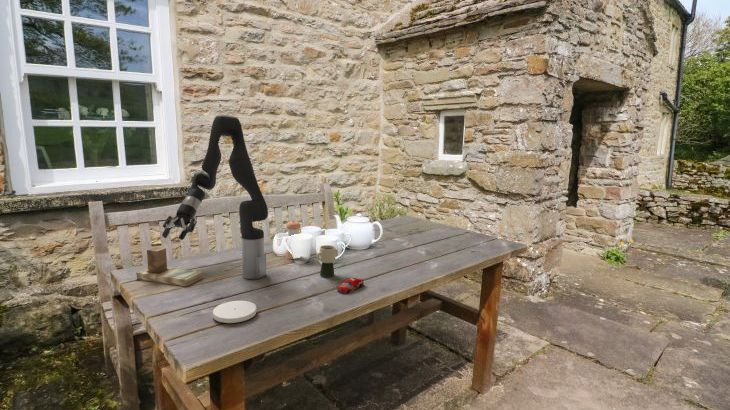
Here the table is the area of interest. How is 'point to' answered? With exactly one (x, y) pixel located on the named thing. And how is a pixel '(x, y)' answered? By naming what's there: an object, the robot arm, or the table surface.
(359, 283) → the race car
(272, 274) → the table surface
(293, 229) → the pepper shaker
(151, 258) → the walnut block
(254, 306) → the plastic lid
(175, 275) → the puzzle board
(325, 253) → the character mug
